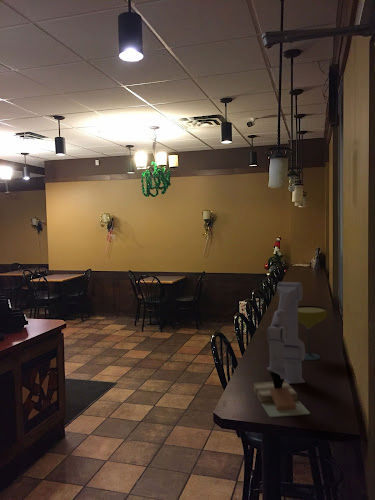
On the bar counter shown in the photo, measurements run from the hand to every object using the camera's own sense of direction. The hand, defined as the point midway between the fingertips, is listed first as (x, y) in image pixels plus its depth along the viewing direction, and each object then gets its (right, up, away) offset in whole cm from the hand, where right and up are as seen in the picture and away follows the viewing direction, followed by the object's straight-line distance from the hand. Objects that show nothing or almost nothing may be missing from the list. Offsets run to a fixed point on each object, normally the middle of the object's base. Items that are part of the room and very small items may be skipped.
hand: (278, 390), depth 163 cm
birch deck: (0, -4, +5) cm, 6 cm away
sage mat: (+1, -4, -8) cm, 9 cm away
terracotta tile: (+1, -2, -5) cm, 5 cm away
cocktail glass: (+27, 0, +51) cm, 58 cm away
